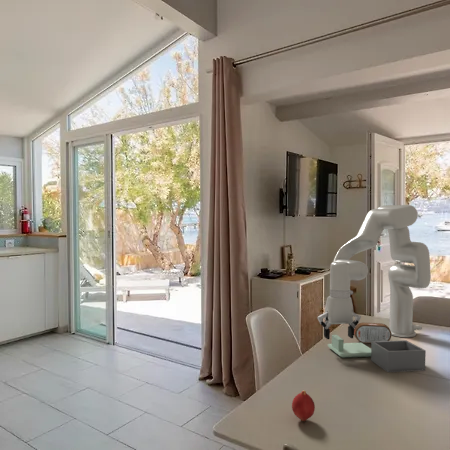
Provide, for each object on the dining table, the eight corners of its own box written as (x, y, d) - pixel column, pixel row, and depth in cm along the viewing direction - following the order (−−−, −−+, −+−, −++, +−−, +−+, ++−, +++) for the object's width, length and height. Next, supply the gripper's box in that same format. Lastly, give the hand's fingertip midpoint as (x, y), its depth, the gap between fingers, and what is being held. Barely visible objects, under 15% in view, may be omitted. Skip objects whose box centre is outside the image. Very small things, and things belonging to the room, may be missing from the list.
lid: (361, 347, 159) (361, 331, 159) (376, 358, 148) (376, 340, 148) (327, 349, 157) (328, 332, 156) (340, 359, 145) (340, 342, 145)
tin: (389, 342, 165) (390, 323, 165) (392, 345, 162) (392, 325, 162) (353, 341, 167) (353, 321, 166) (354, 343, 163) (355, 323, 163)
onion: (289, 415, 104) (289, 385, 104) (310, 414, 104) (311, 385, 104) (295, 427, 98) (295, 395, 98) (317, 426, 98) (318, 395, 98)
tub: (405, 358, 146) (406, 340, 146) (425, 370, 136) (425, 350, 135) (371, 360, 144) (371, 341, 144) (387, 372, 133) (388, 352, 133)
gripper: (356, 291, 156) (355, 334, 156) (314, 292, 153) (313, 335, 154) (365, 295, 148) (364, 340, 149) (322, 296, 146) (321, 341, 146)
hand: (338, 337), depth 151 cm, fingers open, 9 cm apart
